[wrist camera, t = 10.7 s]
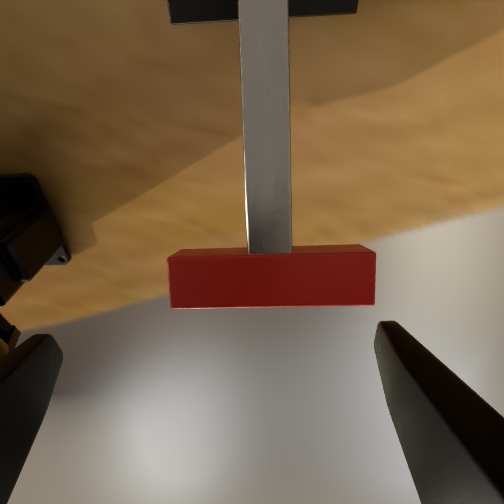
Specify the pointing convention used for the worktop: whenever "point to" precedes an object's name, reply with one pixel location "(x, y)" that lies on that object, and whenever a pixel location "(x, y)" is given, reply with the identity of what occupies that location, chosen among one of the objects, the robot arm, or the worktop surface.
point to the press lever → (269, 200)
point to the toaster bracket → (226, 9)
